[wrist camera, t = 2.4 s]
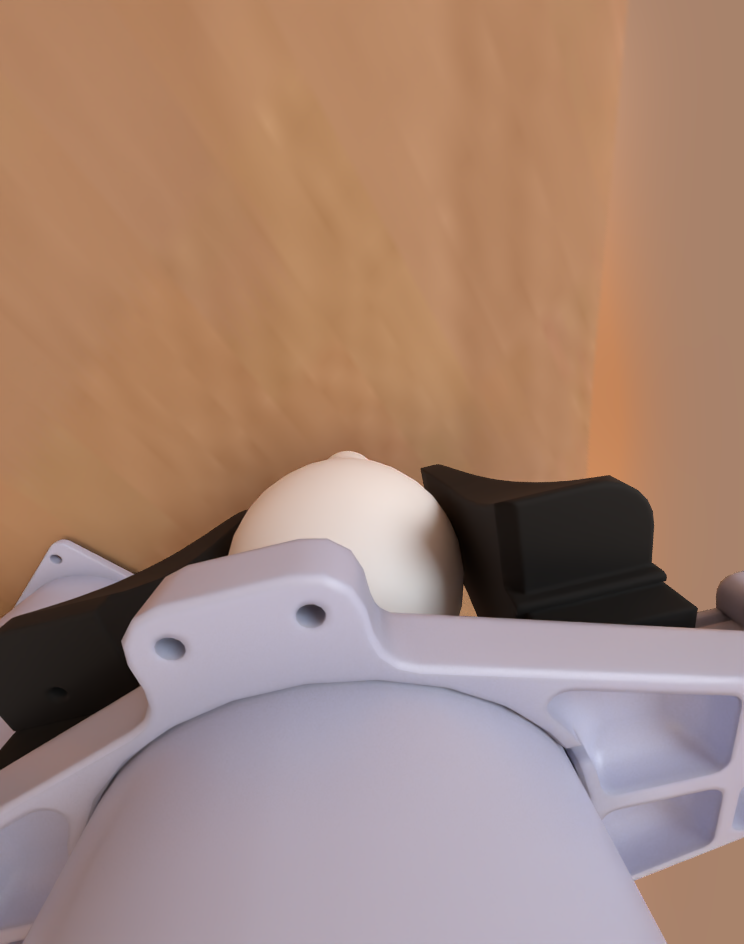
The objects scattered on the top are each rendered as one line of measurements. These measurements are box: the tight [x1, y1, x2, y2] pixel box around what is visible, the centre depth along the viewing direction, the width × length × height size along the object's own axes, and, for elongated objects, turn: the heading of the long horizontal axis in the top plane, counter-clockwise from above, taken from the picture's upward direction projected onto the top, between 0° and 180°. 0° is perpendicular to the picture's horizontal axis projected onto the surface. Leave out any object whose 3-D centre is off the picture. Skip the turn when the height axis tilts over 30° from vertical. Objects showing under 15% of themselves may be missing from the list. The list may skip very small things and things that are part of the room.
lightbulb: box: [228, 451, 464, 616], centre depth 12 cm, size 6×6×11 cm
